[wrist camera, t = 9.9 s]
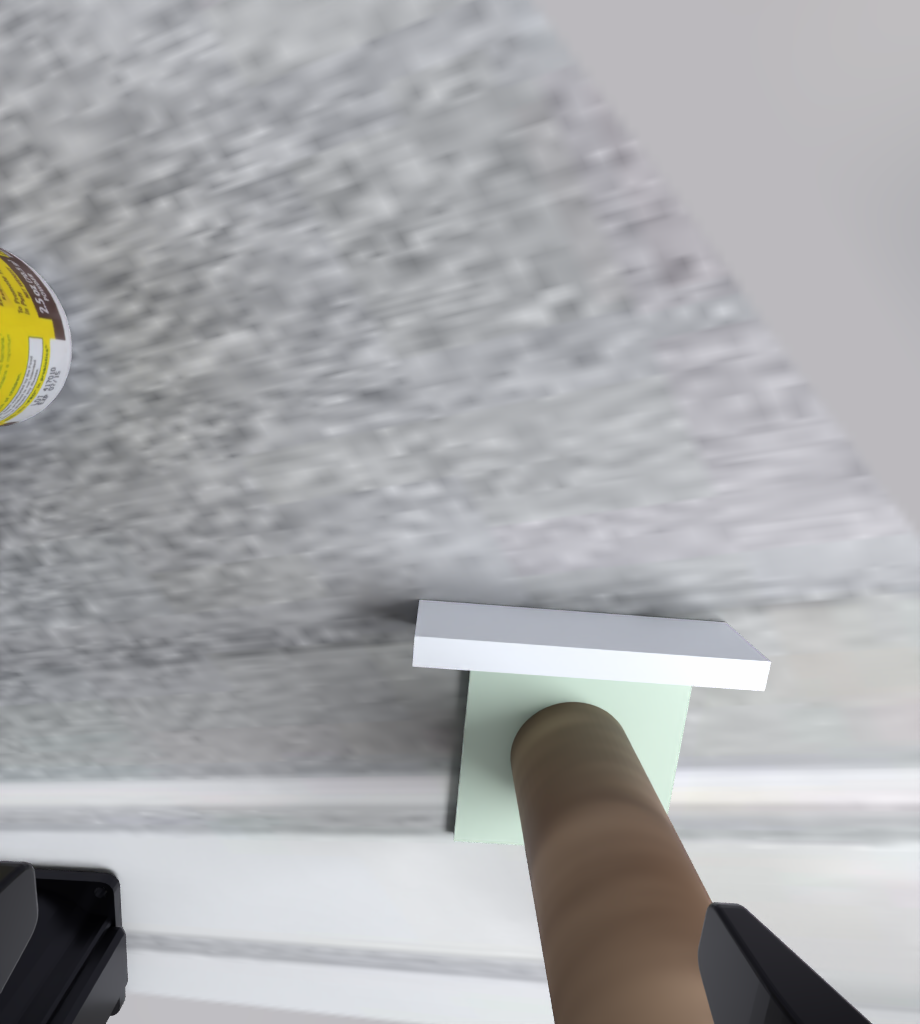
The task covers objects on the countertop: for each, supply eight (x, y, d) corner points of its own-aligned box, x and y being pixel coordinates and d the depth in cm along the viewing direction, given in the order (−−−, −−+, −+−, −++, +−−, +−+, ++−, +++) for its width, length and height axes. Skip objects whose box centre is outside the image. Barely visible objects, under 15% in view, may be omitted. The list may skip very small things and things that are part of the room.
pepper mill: (489, 779, 22) (552, 1350, 9) (546, 682, 21) (706, 1156, 8) (591, 825, 22) (789, 1425, 9) (651, 731, 22) (956, 1249, 9)
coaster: (453, 833, 23) (453, 841, 22) (472, 643, 21) (472, 648, 21) (656, 845, 23) (660, 853, 23) (691, 658, 21) (696, 663, 21)
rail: (417, 626, 21) (412, 666, 18) (419, 599, 21) (414, 636, 18) (721, 648, 21) (764, 690, 18) (726, 622, 21) (771, 661, 18)
